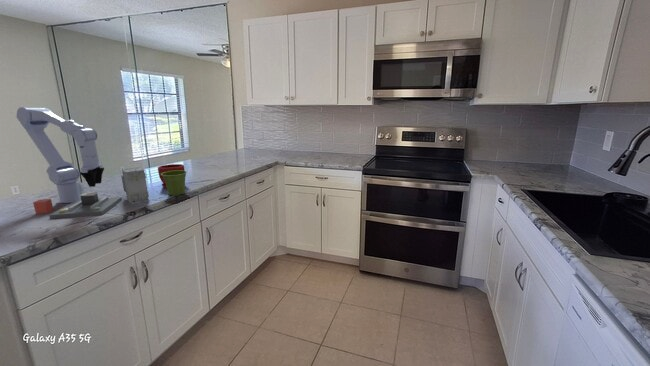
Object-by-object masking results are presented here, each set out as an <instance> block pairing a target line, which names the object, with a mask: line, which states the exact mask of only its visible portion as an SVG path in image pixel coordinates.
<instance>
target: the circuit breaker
mask: <svg viewBox="0 0 650 366" xmlns="http://www.w3.org/2000/svg"><path fill="white" fill-rule="evenodd" d="M121 173H122V175H121V181H122V187H123V191H124V193H125V194H126V199H127V200H126V201H128V202H129V203H130V204H133V205H134V204H137V203H143V202H147V201H150V196H149V195H150V194H149V190H148V184H147V176H146V172H145V169H144V168H142V167H131V168H124V169H121Z"/></svg>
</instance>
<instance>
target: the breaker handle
mask: <svg viewBox="0 0 650 366" xmlns="http://www.w3.org/2000/svg"><path fill="white" fill-rule="evenodd" d="M80 197H81V201H82V205H90V204H95V203H96V202H98V201H99V200H98V199H99V195H98V192H87V193H86V192H85V193H84V192H83V194H81V195H80Z"/></svg>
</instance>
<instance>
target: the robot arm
mask: <svg viewBox="0 0 650 366" xmlns="http://www.w3.org/2000/svg"><path fill="white" fill-rule="evenodd" d="M15 117H16V119H17V120H18V121H19V123H20V125H21V126H22V127H23V129H24V130H25V132H26V133H27V135H28V136H29V137H30V139H31V140H32V142H33V143H34V145H35V146H36V148H37V149H38V150H39V152H40V153H41V155H42V156H43V158H44V159H45V161H46V162H47V163H48V165H49V166H48V167H47V169H46V173H47V175H48V180H50V181H51V183H52V184H54V185H55V186H56V190H57V194H58V197H59V200H58V201H56V202H55V204H70V203H72V202H74V201H76V200H81V197H80V195H81V194H83V193H84V192H83V186H82V184H81V182H80V181H79V180H78V179H79V178H80V177H81V176H82V177H83V178H84V180H85V182H87V185H88V187H89V188H91V187H92V188H93V187H96V185H97V184H99V185H101V184H102V179H103V177H102V176H103V173H104V171H105V167H104V166H103V164H102V162H100V161H99V155H98V151H97V145H96V140H97V139H98V133H97V131H96V130H95V129H93V128H92V127H85V126H84V125H81V124H79V123H77V122H75V120H73V119H63V118H62V117H60V116H58V115H56V114H55V113H53V112H52V110H51V109H48V108H47V107H45V106H43V107H24V106H23V107H22V106H21V107H18V109H17V110H16V116H15ZM49 123H50V124H53V125H54V126H56V127H59V129H60V130H61V132H63V133H66V134H68V135H69V136H71V137H72V138H73V139H74V140H75V141H76V144H77V146H78V147H79V152H80V155H81V162H82V167H81V168H80V171H79V169H78V168H77V167H75V166H74V165H73V163H71V162H69V161H67V160H65V159H64V158H63V157H62V155H61V154H60V152H59V150H58V149H57V147H55V145H54V144H53V142H52V140H51V139H50V138H49V136H48V135H47V134H46V132H45V129H46V128H47V127H48V125H49Z"/></svg>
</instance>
